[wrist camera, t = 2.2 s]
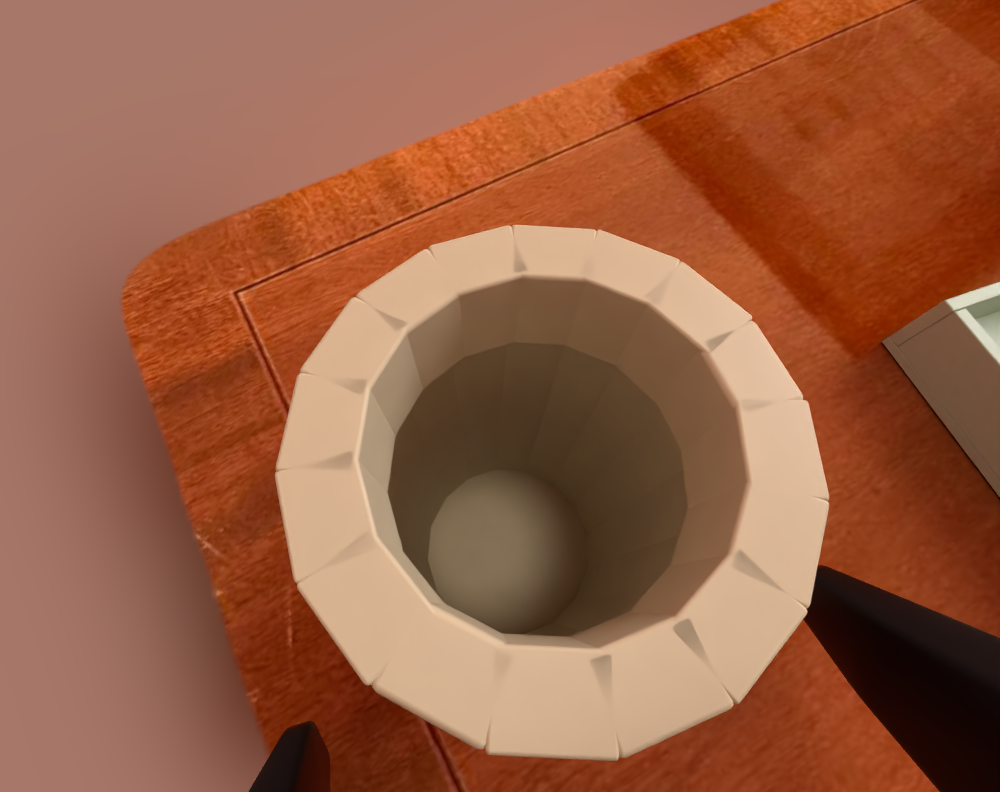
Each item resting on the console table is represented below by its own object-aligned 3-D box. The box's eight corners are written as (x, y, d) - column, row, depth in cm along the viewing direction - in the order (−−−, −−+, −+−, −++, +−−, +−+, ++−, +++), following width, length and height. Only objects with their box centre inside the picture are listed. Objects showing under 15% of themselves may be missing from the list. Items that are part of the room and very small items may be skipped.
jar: (622, 605, 18) (948, 610, 5) (450, 675, 17) (349, 890, 4) (554, 443, 21) (666, 181, 8) (400, 495, 20) (239, 292, 7)
